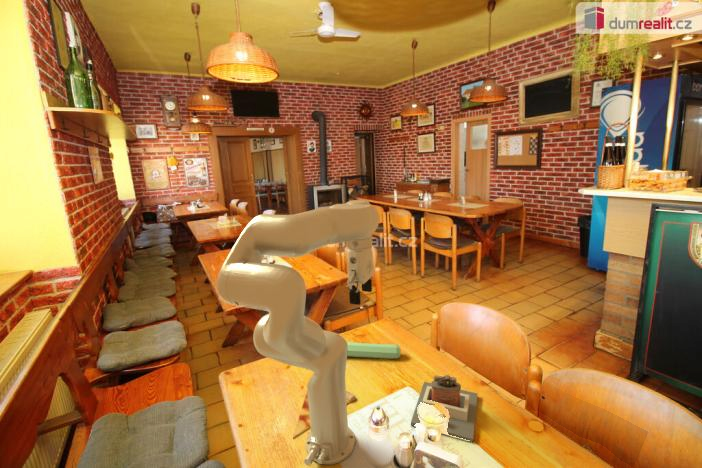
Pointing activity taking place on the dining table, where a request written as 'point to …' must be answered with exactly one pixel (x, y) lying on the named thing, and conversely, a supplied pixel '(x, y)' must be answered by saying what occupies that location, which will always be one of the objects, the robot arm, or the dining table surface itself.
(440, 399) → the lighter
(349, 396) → the pizza slice
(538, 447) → the dining table surface
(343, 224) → the robot arm
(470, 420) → the holder
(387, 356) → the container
